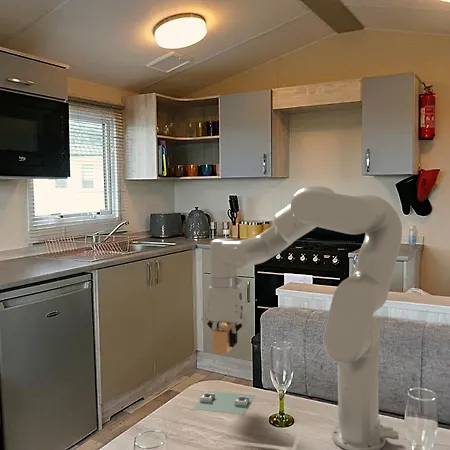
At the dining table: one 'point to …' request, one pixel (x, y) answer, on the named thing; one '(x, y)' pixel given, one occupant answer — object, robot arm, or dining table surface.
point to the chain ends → (239, 402)
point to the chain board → (224, 403)
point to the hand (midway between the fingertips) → (225, 344)
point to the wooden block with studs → (222, 338)
